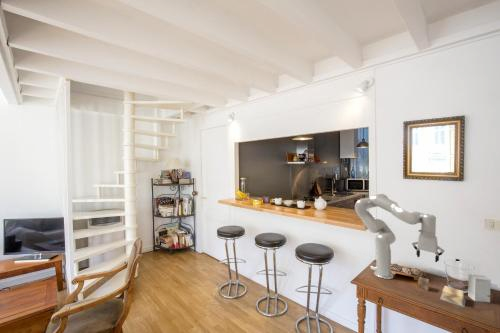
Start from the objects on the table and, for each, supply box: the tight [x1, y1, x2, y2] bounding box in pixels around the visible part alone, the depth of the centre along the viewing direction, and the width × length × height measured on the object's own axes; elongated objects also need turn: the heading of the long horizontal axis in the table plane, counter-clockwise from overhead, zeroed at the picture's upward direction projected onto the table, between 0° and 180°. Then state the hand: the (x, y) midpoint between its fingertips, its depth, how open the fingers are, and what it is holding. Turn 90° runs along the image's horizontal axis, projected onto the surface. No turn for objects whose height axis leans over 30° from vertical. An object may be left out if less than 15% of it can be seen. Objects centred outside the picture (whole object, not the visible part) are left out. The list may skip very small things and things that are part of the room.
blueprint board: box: [439, 294, 467, 308], centre depth 142 cm, size 20×14×1 cm
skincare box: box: [467, 273, 492, 303], centre depth 142 cm, size 8×6×15 cm
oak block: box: [441, 285, 465, 306], centre depth 142 cm, size 9×9×5 cm
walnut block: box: [417, 276, 430, 292], centre depth 155 cm, size 5×5×7 cm
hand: (427, 259), depth 153 cm, fingers open, 9 cm apart
